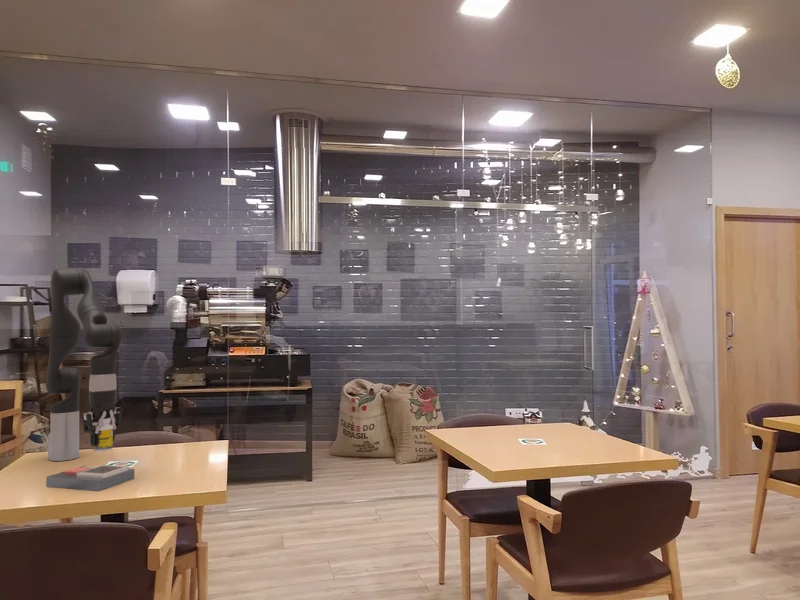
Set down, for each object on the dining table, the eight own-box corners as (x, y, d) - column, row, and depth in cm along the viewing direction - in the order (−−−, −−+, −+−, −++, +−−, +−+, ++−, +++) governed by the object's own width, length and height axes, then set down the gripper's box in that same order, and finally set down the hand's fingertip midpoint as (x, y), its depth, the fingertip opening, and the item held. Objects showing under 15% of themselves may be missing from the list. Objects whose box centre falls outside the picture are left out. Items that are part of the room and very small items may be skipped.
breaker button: (64, 482, 176) (64, 471, 176) (77, 478, 181) (77, 467, 181) (76, 483, 175) (76, 472, 175) (90, 479, 180) (90, 468, 180)
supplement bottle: (90, 452, 172) (91, 420, 173) (95, 449, 177) (95, 417, 178) (110, 451, 174) (110, 419, 174) (114, 447, 179) (114, 416, 179)
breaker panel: (46, 486, 173) (46, 472, 173) (84, 474, 186) (84, 461, 186) (98, 491, 167) (98, 476, 167) (134, 478, 180) (134, 465, 180)
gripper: (111, 386, 184) (111, 438, 184) (73, 391, 170) (73, 448, 170) (130, 386, 182) (130, 439, 181) (93, 391, 168) (93, 449, 168)
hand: (102, 443), depth 176 cm, fingers closed on supplement bottle, 5 cm apart
